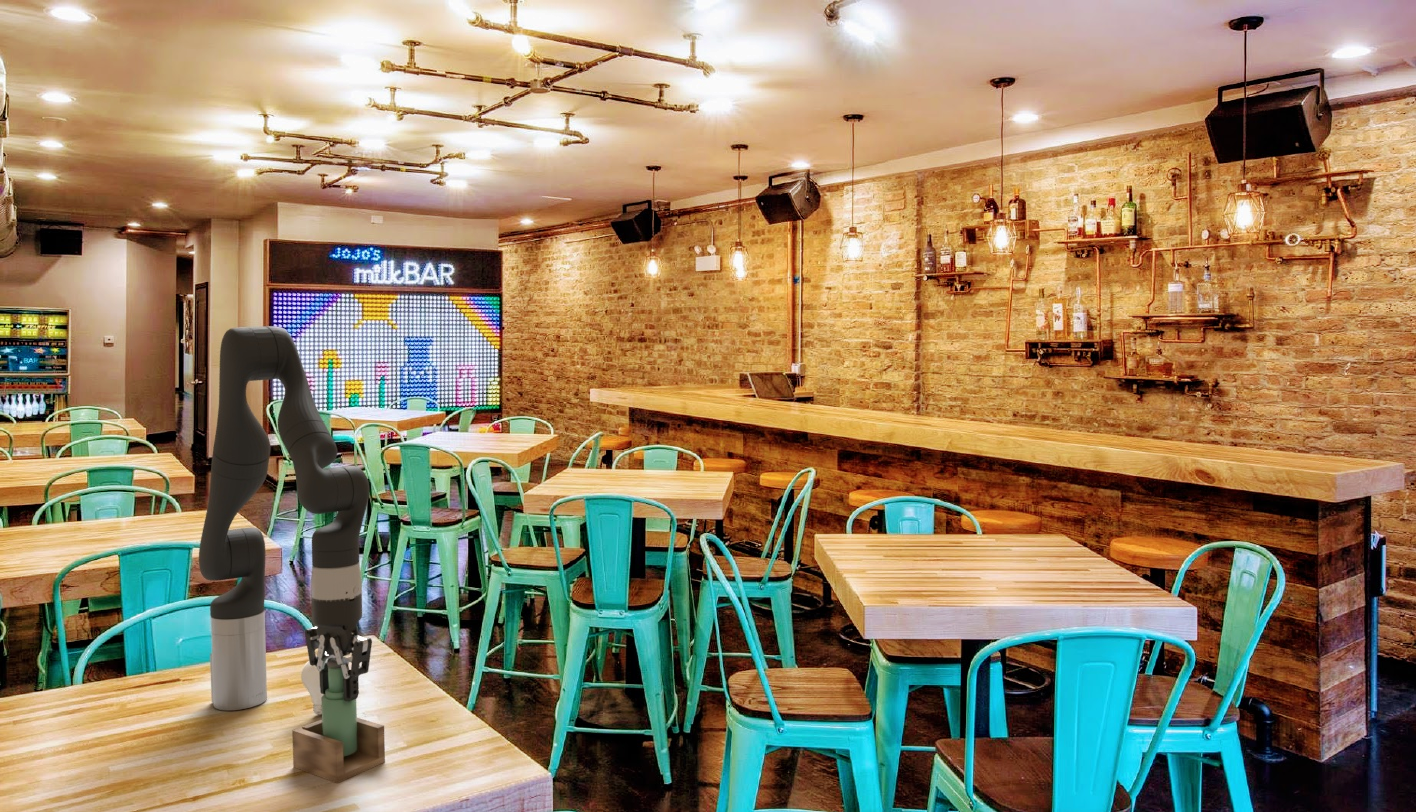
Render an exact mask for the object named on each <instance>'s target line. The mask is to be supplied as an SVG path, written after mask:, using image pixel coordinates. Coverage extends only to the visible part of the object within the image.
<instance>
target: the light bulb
mask: <svg viewBox="0 0 1416 812" xmlns="http://www.w3.org/2000/svg"><path fill="white" fill-rule="evenodd" d="M316 657H317V655H316ZM327 660H328V659H327ZM300 675H301V676H300V677H301V682H302V685H303V686H304V688H305V689H306V690H307V692H308V694H309V696H310V698H311V699H310V700H311V703H312V704H313V705H312V709H313V710H312V712H313V713H314V714H315V715H316V716H320V717H322V700H321V698H322V696H323V695H324V694H321V692H320V674H319V671H318V670H317V667H316V666H315V665H313V666H311V665H310V661H309V660H308V661H307V662H305V664H304V666H303V668H302V670H301V674H300Z"/></svg>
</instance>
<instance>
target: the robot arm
mask: <svg viewBox="0 0 1416 812" xmlns="http://www.w3.org/2000/svg"><path fill="white" fill-rule="evenodd" d="M219 349H220V350H219V379H218V380H219V386H218V387H219V388H218V409H217V419H216V428H215V436H214V442H213V446H212V447H213V450H212V458H211V468H210V469H211V470H210V481H209V482H210V483H209V484H210V485H209V493H208V494H209V495H208V502H207V507H206V508H207V509H206V512H205V517H204V522H203V528H202V532H201V537H200V543H199V549H198V565H199V570H200V574H201V576H202V577H203V579H205V580H207V581H210V582H211V581H213V582H215V581H216V582H219V581H227V580H231V579H232V580H233V579H240V578H241V579H240V581H239V582H237V583H238V584H236V586H234V587H232V588H231V589H230V590H228V591H227V592H225V593H223V594H221V595H219V596H216V597H215V598H214V599H213V600H212V601H211V603H210V606H209V610H210V614H209V616H210V637H211V640H210V641H211V653H210V654H209V661H210V664H209V665H210V692H211V693H210V694H211V703H213V708H214V709H215V710H220V711H239V710H245V709H248V708H253V707H256V706H259V705H261V704H263V703H264V702H266V700H267V699H268V685H267V680H268V679H267V678H268V677H267V652H266V651H267V650H266V621H265V619H266V618H265V615H266V614H265V598H266V587H265V586H266V583H265V582H266V580H265V579H266V578H265V577H266V542H265V538H264V535H263V533H262V531H261V530H260V529H259V528H257V527H252V526H251V527H241V528H232V529H230V527H231V524H232V522H233V521H234V519H235V517H236V515H237V514H238V513H239V512H240V511H241V510H242V509H243V507H244V506H245V505H246V504H247V503H248V502H249V501H250V500H251V499H252V498H253V497H254V495H255V494H256V493H257V492H258V491H259V489H260V488H261V487H262V486H263V484H264V482H265V480H266V478H267V475H268V470H269V463H270V456H271V447H272V446H271V442H270V438H269V436H268V434H267V432H266V431H265V429H264V427H263V426H262V424H261V423H260V421H259V420H258V418H257V417H256V416H255V414H254V413H253V411H252V410H251V407H250V406H249V404H248V399H247V387H248V383H249V382H251V381H252V382H254V381H267V380H276V379H278V380H279V381H280V382H281V385H283V387H284V395H283V400H282V403H281V406H280V409H279V413H278V417H277V430H278V435H279V437H280V440H281V442H282V444H283V446H284V447H285V449H286V452H287V453H288V456H289V457H290V460H291V461H292V466H293V469H294V475H295V480H296V490H297V498H298V502H299V504H300V505H301V506H302V507H303V509H305V510H306V511H307V512H309V513H311V514H314V515H322V514H329V513H336V515H335V518H334V520H333V521H331V522H330V523H328V524H327V525H324V526H322V527H320V528H318V529H316V530H315V531H314V532H313V533H312V536H311V565H312V566H311V577H310V593H311V595H310V596H311V622H312V624H314V625H315V626H313V627H309V628H306V629H305V630H304V635H305V641H306V648H307V654H308V661H310V665H311V666H313V665H315V666H316V667H317V670H318V671H319V674H320V692H321V694H324V695H325V691H326V690H327V689H328V688H329V684H328V667H327V661H328V660H329V659H332V658H336V660H337V664H338V665H340V666H341V668H342V672H343V676H344V678H343V695H344V700H345V701H348V702H349V701H352V700H354V699H356V700H357V699H358V698H359V694H360V691H359V687H360V685H359V678H360V677H359V676H361V675H364V674H367V673H368V672H369V668H370V660H371V654H372V645H373V644H372V643H373V639H372V637H366V638H365V637H362V636H360V632H359V630H358V623H359V621H361V619H362V618H363V592H362V591H363V588H362V587H363V585H362V571H361V566H360V533H361V530H362V526H363V523H364V522H363V521H364V519H365V518H364V517H365V513H366V509H367V506H368V502H369V497H370V482H369V480H368V479H369V478H368V476H367V475H366V473H365V472H364V470H362V469H361V468H360V467H359V466H355V465H347V466H346V465H345V466H335V467H328V466H329V465H331V464H333V463H334V462H335V460H336V458H337V456H338V447H337V445H336V442H335V440H334V439H333V436H332V435H331V433H330V431H329V429H328V428H327V425H326V424H325V422H324V420H323V418H322V416H321V415H320V412H319V410H318V408H317V405H316V403H315V400H314V398H313V394H312V391H311V388H310V384H309V381H308V378H307V373H306V372H305V369H304V367H303V363H302V360H301V357H300V353H299V351H298V349H297V346H296V344H295V342H294V339H293V337H292V336H291V335H290V332H288V331H287V329H285V328H283V327H281V326H272V325H270V326H269V325H266V326H263V325H262V326H242V327H233V328H229V329H226V331H225V333H224V334H223V337H222V339H221V343H220V348H219ZM316 650H317V652H316ZM349 655H350V656H349ZM316 656H317V657H316ZM346 656H348V657H346ZM344 657H346V658H344ZM327 659H328V660H327ZM348 663H351V666H350V667H349V665H348ZM360 664H361V666H360Z"/></svg>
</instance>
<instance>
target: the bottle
mask: <svg viewBox="0 0 1416 812" xmlns="http://www.w3.org/2000/svg"><path fill="white" fill-rule="evenodd" d="M343 657H344V658H347V657H346V656H343ZM349 663H350V662H349ZM349 663H348V666H349ZM327 667H328V684H329V688H328V689H327V690H326V691H325V695H323V696H322V698H321V700H322V716H321V720H322V736H325V737H328V738H331V739H335V740H338V741H341V742H343V756H347V755H350V754H352V753H354V752H356V751H357V749H358V746H357V718H358V717H357V716H358V714H357V709H358V708H357V699H354V700H352V701H349V702H348V701H345V700H344V695H343V678H344V676H343V672H342V668H341V666H340V665H338V664H337V660H336V658H332V659H329V660H328V661H327Z"/></svg>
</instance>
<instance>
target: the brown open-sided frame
mask: <svg viewBox="0 0 1416 812" xmlns="http://www.w3.org/2000/svg"><path fill="white" fill-rule="evenodd" d="M291 735H292V760H293V763H292V766H293V768H296V769H297V770H301V771H303V772H306V773H309V774H311V775H315V776H317V777H320V778H323V779H324V780H328V781H331V782H334V783H335V784H336V783H337V784H339V783H341V782H343V781H346V780H347V779H349V778H353V777H354V776H356V775H359V774H361V773H364V772H365V771H368V770H370V769H372V768H374V767H376V766H379V765H381V764H384V763H385V762H386V754H385V753H386V752H385V750H386V747H385V746H386V745H385V725H383V724H379V723H376V722H374V721H373V722H372V721H370V720H366V719H363V718H360V717H357V746H358V749H357V751H356V752H354V753H352V754H350V755H347V756H343V742H341V741H338V740H335V739H331V738H328V737H325V736H322V719H318V720H316V721H315V722H311V723H309V724H305V725H303V726H301V727H298V728H295V729H293V730H292V734H291Z"/></svg>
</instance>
